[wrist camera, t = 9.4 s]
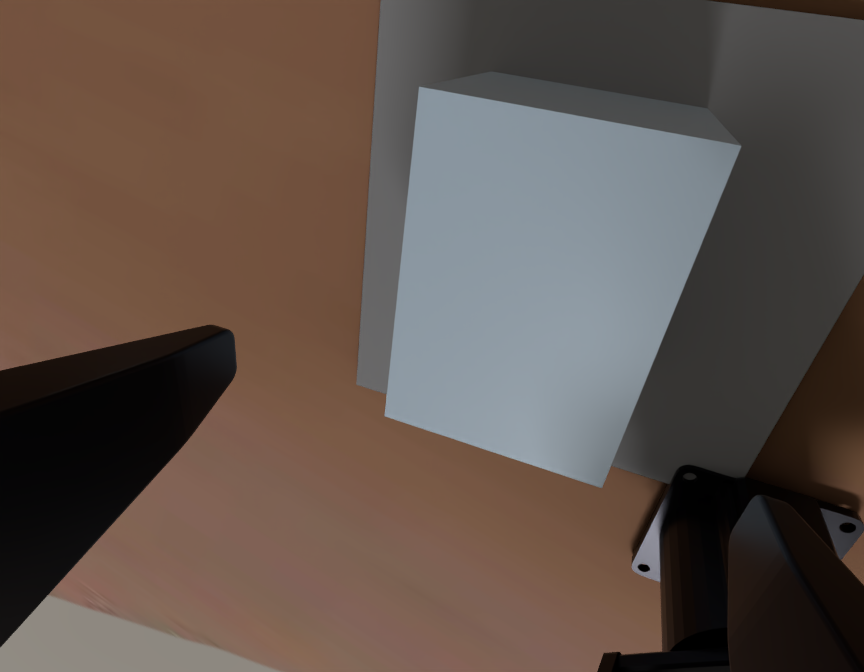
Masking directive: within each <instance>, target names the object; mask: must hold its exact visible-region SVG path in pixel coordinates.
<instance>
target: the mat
mask: <svg viewBox="0 0 864 672" xmlns="http://www.w3.org/2000/svg"><path fill="white" fill-rule="evenodd" d="M491 71H492V72H498V73H504V74H510V75H515V76H521V77H527V78H533V79H539V80H545V81H550V82H556V83H562V84H568V85H574V86H580V87H585V88H591V89H597V90H603V91H609V92H615V93H620V94H626V95H632V96H638V97H644V98H649V99H655V100H661V101H667V102H673V103H679V104H684V105H690V106H696V107H702V108H708V109H709V110H710V112H711V113H712V114H713V115H714V116H715V117H716V118H717V119H718V120H719V121H720V123H721V124H722V125H723V126H724V127H725V128H726V129H727V130H728V131H729V132H730V134H731V135H732V136H733V137H734V138H735V139H736V140H737V141H738V142H739V143H740V145H741V148H740V151H739V153H738V156H737V158H736V161H735V163H734V166H733V168H732V170H731V173H730V175H729V178H728V180H727V183H726V185H725V188H724V190H723V193H722V195H721V197H720V200H719V202H718V205H717V207H716V210H715V212H714V215H713V217H712V219H711V222H710V224H709V227H708V229H707V232H706V234H705V237H704V239H703V241H702V244H701V246H700V249H699V251H698V254H697V256H696V259H695V261H694V264H693V266H692V268H691V271H690V273H689V276H688V278H687V281H686V283H685V286H684V288H683V290H682V293H681V295H680V298H679V300H678V303H677V305H676V308H675V310H674V312H673V315H672V317H671V320H670V322H669V325H668V327H667V330H666V332H665V335H664V337H663V339H662V342H661V344H660V347H659V349H658V352H657V354H656V357H655V359H654V361H653V364H652V366H651V369H650V371H649V374H648V376H647V379H646V381H645V383H644V386H643V388H642V391H641V393H640V396H639V398H638V401H637V403H636V406H635V408H634V410H633V413H632V415H631V418H630V420H629V423H628V425H627V428H626V430H625V432H624V435H623V437H622V440H621V442H620V445H619V447H618V450H617V452H616V454H615V457H614V459H613V462H612V464H611V466H614V467H617V468H620V469H623V470H626V471H629V472H633V473H636V474H639V475H642V476H645V477H648V478H651V479H655V480H658V481H661V482H664V483H667V484H670V482H671V480H672V478H673V476H674V474H675V472H676V470H677V469H678V468H679V467H681V466H683V465H694V466H697V467H701V468H704V469H707V470H710V471H714V472H717V473H720V474H723V475H727V476H730V477H733V478H736V479H737V478H739V477H743V478H744V477H745V476H746V474H747V472H748V471H749V469H750V467H751V466H752V464H753V462H754V460H755V459H756V457H757V455H758V454H759V452H760V450H761V448H762V447H763V445H764V443H765V442H766V440H767V438H768V437H769V435H770V433H771V431H772V430H773V428H774V426H775V425H776V423H777V421H778V419H779V418H780V416H781V414H782V413H783V411H784V409H785V408H786V406H787V404H788V402H789V401H790V399H791V397H792V396H793V394H794V392H795V391H796V389H797V387H798V385H799V384H800V382H801V380H802V379H803V377H804V375H805V373H806V372H807V370H808V368H809V367H810V365H811V363H812V362H813V360H814V358H815V356H816V355H817V353H818V351H819V350H820V348H821V346H822V344H823V343H824V341H825V339H826V338H827V336H828V334H829V333H830V331H831V329H832V327H833V326H834V324H835V322H836V321H837V319H838V317H839V315H840V314H841V312H842V310H843V309H844V307H845V305H846V304H847V302H848V300H849V298H850V297H851V295H852V293H853V292H854V290H855V288H856V287H857V285H858V283H859V281H860V280H861V278H862V276H863V275H864V20H859V19H851V18H843V17H835V16H827V15H819V14H811V13H803V12H795V11H787V10H779V9H771V8H763V7H755V6H747V5H739V4H731V3H723V2H715V1H707V0H381V4H380V20H379V36H378V52H377V68H376V83H375V99H374V115H373V131H372V147H371V163H370V178H369V194H368V210H367V226H366V242H365V258H364V273H363V289H362V305H361V321H360V337H359V353H358V368H357V384H356V385H359V386H363V387H366V388H369V389H372V390H375V391H378V392H381V393H385V394H387V389H388V379H389V369H390V360H391V350H392V341H393V331H394V322H395V312H396V303H397V293H398V283H399V274H400V264H401V255H402V245H403V236H404V226H405V217H406V207H407V197H408V188H409V178H410V169H411V159H412V150H413V140H414V131H415V121H416V111H417V102H418V92H419V87H420V86H424V85H429V84H434V83H439V82H443V81H448V80H453V79H458V78H462V77H467V76H472V75H477V74H481V73H486V72H491ZM683 477H684V478H685V479H687V480H693V479H695V478H696V475H694V474H692V473H687V474H684V475H683Z"/></svg>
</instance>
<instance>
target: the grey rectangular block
mask: <svg viewBox="0 0 864 672" xmlns="http://www.w3.org/2000/svg"><path fill="white" fill-rule="evenodd" d="M740 148H741V145H740V143H739V142H738V141H737V140H736V139H735V138H734V137H733V136H732V135H731V134H730V132H729V131H728V130H727V129H726V128H725V127H724V126H723V125H722V124H721V123H720V121H719V120H718V119H717V118H716V117H715V116H714V115H713V114H712V113H711V112H710V110H709V109H708V108H702V107H696V106H690V105H684V104H679V103H673V102H667V101H661V100H655V99H649V98H644V97H638V96H632V95H626V94H620V93H615V92H609V91H603V90H597V89H591V88H585V87H580V86H574V85H568V84H562V83H556V82H550V81H545V80H539V79H533V78H527V77H521V76H515V75H510V74H504V73H498V72H492V71H491V72H486V73H481V74H477V75H472V76H467V77H462V78H458V79H453V80H448V81H443V82H439V83H434V84H429V85H424V86H420V87H419V92H418V102H417V111H416V121H415V131H414V140H413V150H412V159H411V169H410V178H409V188H408V197H407V207H406V217H405V226H404V236H403V245H402V255H401V264H400V274H399V283H398V293H397V303H396V312H395V322H394V331H393V341H392V350H391V360H390V369H389V379H388V389H387V398H386V408H385V416H386V417H389V418H392V419H395V420H398V421H401V422H404V423H407V424H410V425H413V426H416V427H419V428H422V429H425V430H428V431H431V432H434V433H437V434H440V435H443V436H446V437H449V438H452V439H455V440H458V441H461V442H464V443H467V444H470V445H473V446H476V447H479V448H482V449H485V450H488V451H491V452H494V453H497V454H500V455H503V456H506V457H509V458H512V459H515V460H518V461H521V462H525V463H528V464H531V465H534V466H537V467H540V468H543V469H546V470H549V471H552V472H555V473H558V474H561V475H564V476H567V477H570V478H573V479H576V480H579V481H582V482H585V483H588V484H591V485H594V486H597V487H600V488H602V486H603V484H604V481H605V479H606V476H607V474H608V472H609V469H610V467H611V464H612V462H613V459H614V457H615V454H616V452H617V450H618V447H619V445H620V442H621V440H622V437H623V435H624V432H625V430H626V428H627V425H628V423H629V420H630V418H631V415H632V413H633V410H634V408H635V406H636V403H637V401H638V398H639V396H640V393H641V391H642V388H643V386H644V383H645V381H646V379H647V376H648V374H649V371H650V369H651V366H652V364H653V361H654V359H655V357H656V354H657V352H658V349H659V347H660V344H661V342H662V339H663V337H664V335H665V332H666V330H667V327H668V325H669V322H670V320H671V317H672V315H673V312H674V310H675V308H676V305H677V303H678V300H679V298H680V295H681V293H682V290H683V288H684V286H685V283H686V281H687V278H688V276H689V273H690V271H691V268H692V266H693V264H694V261H695V259H696V256H697V254H698V251H699V249H700V246H701V244H702V241H703V239H704V237H705V234H706V232H707V229H708V227H709V224H710V222H711V219H712V217H713V215H714V212H715V210H716V207H717V205H718V202H719V200H720V197H721V195H722V193H723V190H724V188H725V185H726V183H727V180H728V178H729V175H730V173H731V170H732V168H733V166H734V163H735V161H736V158H737V156H738V153H739V151H740Z"/></svg>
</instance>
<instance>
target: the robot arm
mask: <svg viewBox="0 0 864 672" xmlns="http://www.w3.org/2000/svg"><path fill="white" fill-rule="evenodd" d="M236 369H237V364H236V351H235V339H234V335H233V333H232V332H231V331H230V330H228V329H225V328H222V327H219V326H216V325H206V326H201V327H197V328H192V329H187V330H183V331H178V332H174V333H169V334H165V335H160V336H156V337H151V338H147V339H142V340H137V341H133V342H128V343H124V344H119V345H115V346H110V347H106V348H101V349H97V350H92V351H87V352H83V353H78V354H74V355H69V356H65V357H60V358H56V359H51V360H47V361H42V362H37V363H33V364H28V365H24V366H19V367H15V368H10V369H6V370H1V371H0V647H1V646H2V645H3V644H4V643H5V642H6V641H7V640H8V638H9V637H10V636H11V635H12V634H13V633H14V632H15V631H16V630H17V629H18V627H19V626H20V625H21V624H22V623H23V622H24V621H25V620H26V619H27V617H28V616H29V615H30V614H31V613H32V612H33V611H34V610H35V609H36V608H37V606H38V605H39V604H40V603H41V602H42V601H43V600H44V599H45V598H46V597H47V595H48V594H49V593H50V592H51V591H52V590H53V589H54V588H55V587H56V586H57V584H58V583H59V582H60V581H61V580H62V579H63V578H64V577H65V576H66V575H67V573H68V572H69V571H70V570H71V569H72V568H73V567H74V566H75V565H76V564H77V562H78V561H79V560H80V559H81V558H82V557H83V556H84V555H85V554H86V553H87V551H88V550H89V549H90V548H91V547H92V546H93V545H94V544H95V543H96V542H97V540H98V539H99V538H100V537H101V536H102V535H103V534H104V533H105V532H106V531H107V529H108V528H109V527H110V526H111V525H112V524H113V523H114V522H115V521H116V520H117V518H118V517H119V516H120V515H121V514H122V513H123V512H124V511H125V510H126V509H127V507H128V506H129V505H130V504H131V503H132V502H133V501H134V500H135V499H136V498H137V496H138V495H139V494H140V493H141V492H142V491H143V490H144V489H145V488H146V486H147V485H148V484H149V483H150V482H151V481H152V480H153V479H154V478H155V477H156V475H157V474H158V473H159V472H160V471H161V470H162V469H163V468H164V467H165V466H166V464H167V463H168V462H169V461H170V460H171V459H172V458H173V457H174V456H175V455H176V453H177V452H178V451H179V450H180V449H181V448H182V447H183V445H184V444H185V443H186V442H187V441H188V439H189V438H190V437H191V436H192V434H193V433H194V432H195V430H196V429H197V428H198V426H199V425H200V424H201V422H202V421H203V420H204V418H205V417H206V416H207V414H208V413H209V411H210V410H211V409H212V407H213V406H214V405H215V403H216V402H217V401H218V399H219V398H220V397H221V395H222V394H223V392H224V391H225V390H226V388H227V387H228V386H229V384H230V383H231V382H232V380H233V378H234V376H235V373H236ZM687 473H692V474H694V475H696V478H695V479H693V480H687V479H685V478H684V477H683V475H684V474H687ZM846 522H848V523H850V524H847V525H841V524H842V523H846ZM863 531H864V524H863V522H862V520H861V518H860V516H859V515H858V514H857V513H856V512H854V511H851V510H848V509H845V508H842V507H838V506H835V505H832V504H829V503H825V502H822V501H819V500H816V499H814V498H811V497H808V496H805V495H801V494H798V493H795V492H792V491H788V490H785V489H782V488H779V487H775V486H772V485H769V484H766V483H762V482H759V481H756V480H752V479H749V478H743V477H739V478H737V479H736V478H733V477H730V476H727V475H723V474H720V473H717V472H714V471H710V470H707V469H704V468H701V467H697V466H694V465H683V466H681V467H679V468H678V469H677V470H676V472H675V474H674V476H673V478H672V480H671V482H670V484H668V485H667V487H666V489H665V491H664V493H663V495H662V497H661V499H660V501H659V503H658V505H657V507H656V509H655V511H654V513H653V515H652V517H651V519H650V521H649V523H648V525H647V528H646V530H645V532H644V534H643V536H642V538H641V540H640V542H639V544H638V546H637V548H636V550H635V552H634V554H633V556H632V569H633V570H634V571H635V572H636V573H637V574H639V575H642V576H644V577H647V578H650V579H653V580H655V581H658V582H660V589H661V624H662V652H651V653H638V654H625V655H622V654H621V653H620V652H612V653H604V654H603V657H602V660H601V663H600V665H599V668H598V671H597V672H864V585H863V584H862V583H861V582H860V581H859V580H858V578H857V577H856V576H855V575H854V574H853V573H852V572H851V571H850V570H849V569H848V568H847V566H846V565H845V564H844V563H843V562H842V561H841V559H842V558H843V557H844V556H845V554H846V553H847V552H848V551H849V549H850V548H851V547H852V546H853V544H854V543H855V542H856V541H857V539H858V538H859V537H860V536H861V534H862V533H863ZM643 564H646V565H643Z"/></svg>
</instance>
